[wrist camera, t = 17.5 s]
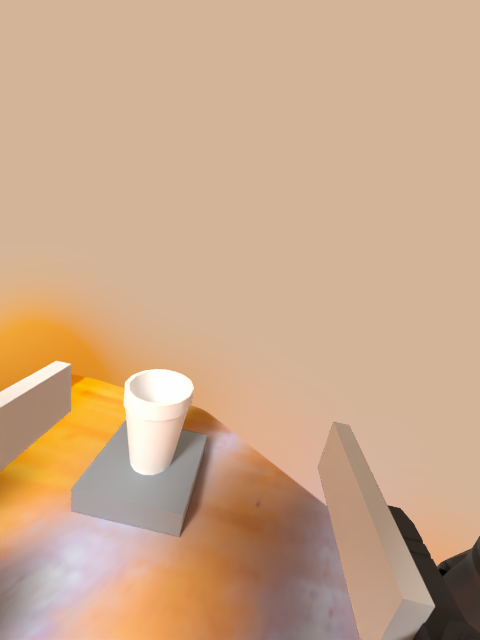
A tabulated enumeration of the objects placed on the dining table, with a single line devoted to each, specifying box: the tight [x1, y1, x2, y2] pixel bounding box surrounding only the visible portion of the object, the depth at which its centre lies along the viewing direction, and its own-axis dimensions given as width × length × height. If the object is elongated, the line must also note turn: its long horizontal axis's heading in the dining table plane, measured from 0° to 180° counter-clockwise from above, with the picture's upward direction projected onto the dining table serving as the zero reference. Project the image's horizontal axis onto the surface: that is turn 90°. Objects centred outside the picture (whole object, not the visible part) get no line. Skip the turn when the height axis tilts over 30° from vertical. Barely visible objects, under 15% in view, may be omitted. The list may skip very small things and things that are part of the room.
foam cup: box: [124, 369, 194, 475], centre depth 40 cm, size 10×9×13 cm
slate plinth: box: [71, 421, 207, 537], centre depth 42 cm, size 15×15×4 cm
